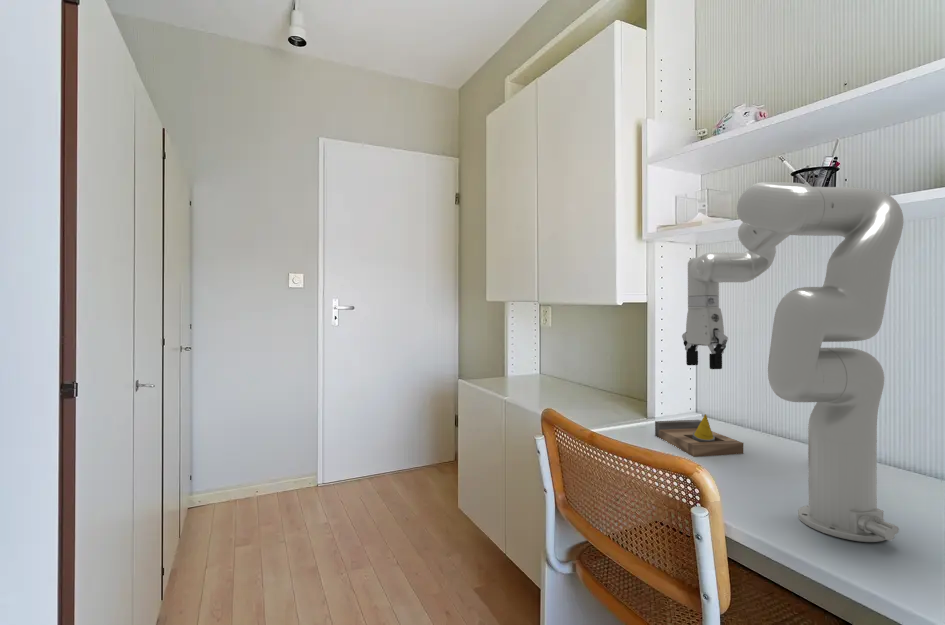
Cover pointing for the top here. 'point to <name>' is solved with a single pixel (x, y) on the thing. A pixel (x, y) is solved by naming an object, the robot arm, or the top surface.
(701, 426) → the drill bit
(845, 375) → the robot arm
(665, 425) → the jig
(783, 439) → the top surface
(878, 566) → the top surface
